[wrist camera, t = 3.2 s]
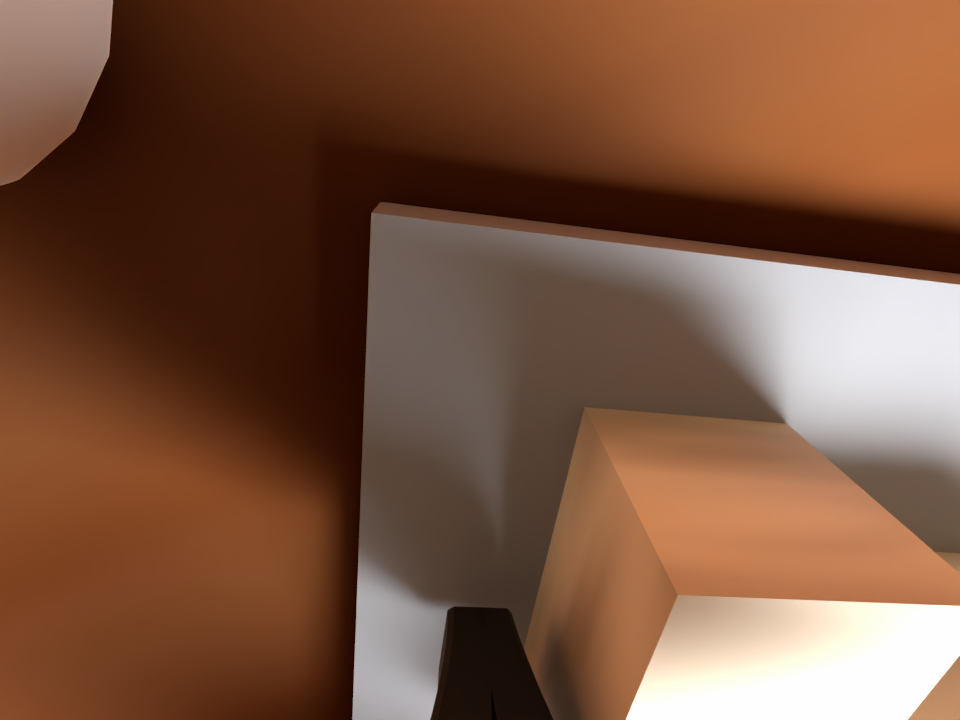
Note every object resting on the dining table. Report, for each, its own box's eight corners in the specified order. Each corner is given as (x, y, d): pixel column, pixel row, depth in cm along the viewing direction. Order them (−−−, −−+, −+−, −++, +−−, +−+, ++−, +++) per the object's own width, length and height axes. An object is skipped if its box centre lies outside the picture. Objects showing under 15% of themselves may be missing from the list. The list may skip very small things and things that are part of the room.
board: (1097, 778, 19) (1136, 817, 18) (354, 781, 16) (348, 829, 15) (1596, 353, 12) (1714, 376, 10) (381, 201, 8) (371, 212, 7)
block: (875, 733, 14) (1019, 936, 11) (502, 731, 13) (525, 959, 10) (1098, 449, 10) (1454, 625, 7) (584, 406, 9) (677, 595, 5)
